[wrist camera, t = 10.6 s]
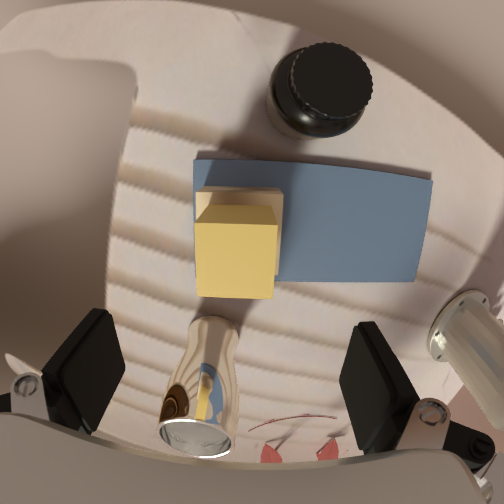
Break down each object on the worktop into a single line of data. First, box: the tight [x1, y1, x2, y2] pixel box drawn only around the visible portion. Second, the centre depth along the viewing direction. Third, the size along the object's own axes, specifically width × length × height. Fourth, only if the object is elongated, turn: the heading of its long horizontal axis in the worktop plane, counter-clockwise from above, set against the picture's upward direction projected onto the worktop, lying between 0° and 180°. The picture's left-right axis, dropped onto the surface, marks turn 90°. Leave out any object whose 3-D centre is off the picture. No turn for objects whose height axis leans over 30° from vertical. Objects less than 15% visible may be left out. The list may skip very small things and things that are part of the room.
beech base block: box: [196, 186, 284, 275], centre depth 25 cm, size 7×7×4 cm
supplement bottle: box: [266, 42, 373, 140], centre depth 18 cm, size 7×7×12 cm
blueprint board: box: [193, 159, 433, 282], centre depth 28 cm, size 25×12×1 cm, turn 88°
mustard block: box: [194, 204, 278, 299], centre depth 21 cm, size 5×5×6 cm
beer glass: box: [156, 315, 239, 458], centre depth 26 cm, size 7×7×15 cm
